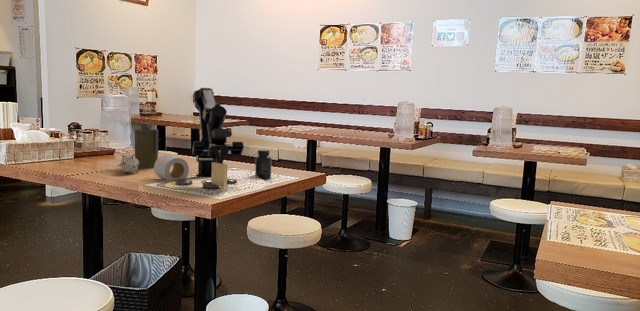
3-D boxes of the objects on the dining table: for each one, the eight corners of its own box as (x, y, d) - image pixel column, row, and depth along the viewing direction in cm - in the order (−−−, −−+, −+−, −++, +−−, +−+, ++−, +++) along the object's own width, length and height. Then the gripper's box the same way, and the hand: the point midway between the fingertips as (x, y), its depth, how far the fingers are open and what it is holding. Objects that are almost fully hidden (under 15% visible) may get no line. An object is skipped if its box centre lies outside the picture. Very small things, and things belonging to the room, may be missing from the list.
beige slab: (199, 187, 178) (199, 161, 177) (212, 185, 183) (213, 160, 181) (218, 192, 171) (218, 165, 170) (231, 189, 176) (232, 163, 174)
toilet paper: (188, 182, 194) (189, 157, 193) (164, 184, 188) (164, 158, 186) (177, 178, 202) (177, 154, 200) (153, 180, 195) (154, 155, 194)
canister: (129, 167, 222) (129, 123, 220) (143, 164, 232) (143, 122, 229) (149, 169, 219) (149, 124, 216) (163, 166, 229) (163, 123, 226)
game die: (124, 182, 207) (109, 163, 204) (136, 172, 214) (121, 154, 211) (138, 173, 203) (122, 154, 200) (149, 164, 210) (134, 145, 207)
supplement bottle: (273, 177, 213) (274, 150, 212) (267, 179, 207) (268, 151, 205) (258, 176, 215) (259, 148, 213) (252, 178, 208) (253, 150, 207)
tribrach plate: (170, 188, 180) (170, 182, 180) (202, 180, 199) (203, 174, 199) (211, 194, 174) (211, 187, 173) (241, 185, 192) (241, 179, 192)
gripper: (193, 119, 180) (197, 154, 172) (243, 120, 188) (249, 153, 179) (190, 138, 189) (194, 171, 180) (238, 138, 196) (243, 170, 187)
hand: (220, 166), depth 182 cm, fingers closed
